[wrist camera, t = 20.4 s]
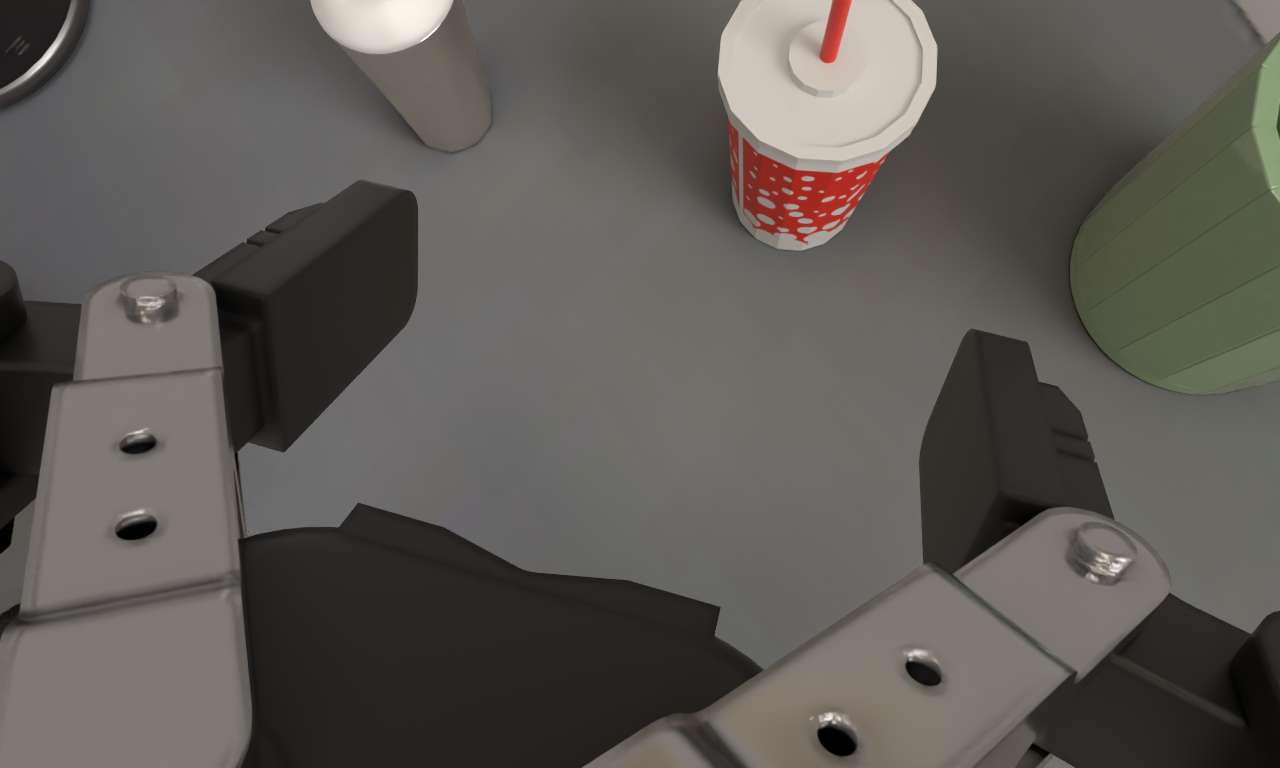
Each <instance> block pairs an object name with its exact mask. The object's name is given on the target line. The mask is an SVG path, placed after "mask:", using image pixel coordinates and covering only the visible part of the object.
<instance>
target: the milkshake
mask: <svg viewBox="0 0 1280 768" xmlns="http://www.w3.org/2000/svg"><path fill="white" fill-rule="evenodd" d="M310 1H311V6H312V9H313V12H314V14H315V16H316V18H317V20H318V21H319V23H320V25H321V26H322V28H323V29H324V30H325V31H326V33H327V34H328V35H329V36H330V37H331V38H332V39H333V40H334V41H335V42H336V43H337V45H338V46H339V47H340V48H341V49H342V50H343V51H344V52H345V53H346V54H347V55H348V57H349V58H350V59H351V60H352V61H353V62H354V63H355V64H356V65H357V66H358V67H359V68H360V69H361V71H362V72H363V73H364V74H365V75H366V76H367V77H368V78H369V79H370V80H371V81H372V82H373V83H374V84H375V85H376V86H377V87H378V88H379V89H380V90H381V91H382V93H383V94H384V95H385V96H386V97H387V98H388V100H389V101H390V102H391V103H392V104H393V106H394V107H395V108H396V109H397V110H398V112H399V113H400V114H401V115H402V116H403V118H404V119H405V120H406V121H407V122H408V124H409V125H410V126H411V127H412V129H413V130H414V131H415V132H416V133H417V135H418V136H419V137H420V138H421V139H422V141H423V142H424V143H425V144H426V145H427V146H428V147H430V148H434V149H439V150H443V151H447V152H451V153H454V152H456V151H459V150H462V149H464V148H467V147H470V146H472V145H475V144H477V143H478V141H479V140H480V139H481V137H482V136H483V135H484V133H485V132H486V131H487V129H488V128H489V127H490V125H491V124H492V117H491V96H490V93H489V89H488V86H487V83H486V79H485V76H484V72H483V69H482V66H481V62H480V59H479V56H478V52H477V49H476V46H475V42H474V39H473V36H472V32H471V29H470V26H469V23H468V19H467V15H466V11H465V7H464V3H463V0H310Z"/></svg>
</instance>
